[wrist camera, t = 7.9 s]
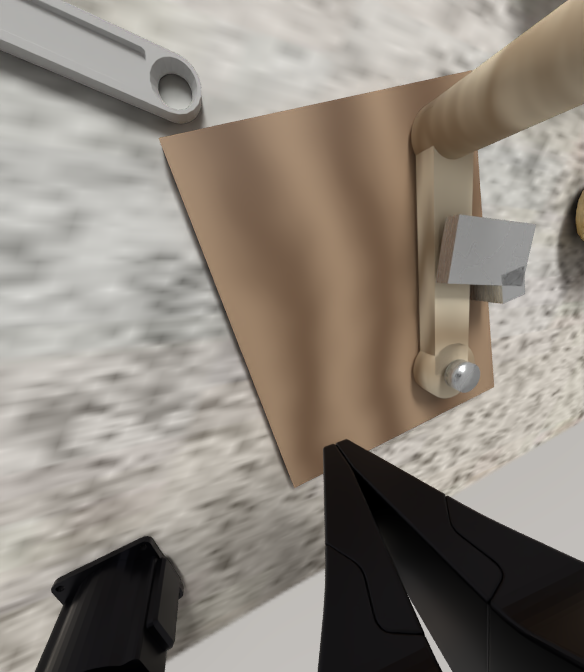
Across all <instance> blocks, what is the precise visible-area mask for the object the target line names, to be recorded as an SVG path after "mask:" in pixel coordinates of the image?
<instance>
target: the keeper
mask: <svg viewBox="0 0 584 672" xmlns="http://www.w3.org/2000/svg"><path fill="white" fill-rule="evenodd" d="M535 227H536V224H529V223H522V222H514V221H506V220H499V219H491V218H483V217H476V216H468V215H460V214H459V215H454V216H450V217H446V219H445V225H444V232H443V238H442V244H441V251H440V257H439V263H438V270H437V276H436V282H435V283H447V284H470V298H469V300H476V301H485V302H493V303H501V304H503V303H506V302H508V301H510V300H513V299H515V298H517V297H520V296H522V295H524V294H525V270H526V266H527V262H528V257H529V253H530V248H531V244H532V240H533V235H534V231H535ZM479 379H480V369H479V367H478V366H477V365H476V364H473V363H471V362H468V361H465V360H462V359H457V360H454V361H452V362H451V363H450V364H449V365H448V367H447V368H446V370H445V374H444V380H445V383H446V384H447V385H448V386H449V387H451V388H453V389H456V390H458V391H460V392H462V393H466V392H469V391H471V390H472V389H473V388H474V387H475V386H476V385H477V383H478V381H479Z"/></svg>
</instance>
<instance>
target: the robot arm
mask: <svg viewBox="0 0 584 672" xmlns="http://www.w3.org/2000/svg"><path fill="white" fill-rule="evenodd" d="M323 475H324V518H325V595H324V596H325V597H324V612H323V622H322V632H321V643H320V653H319V663H318V672H442V670H441V668H440V666H439V664H438V662H437V660H436V658H435V656H434V654H433V652H432V650H431V648H430V645H429V643H428V641H427V639H426V637H425V634H424V631H423V629H422V627H421V624H420V622H419V620H418V618H417V615H416V613H415V611H414V608H413V606H412V604H411V602H410V600H411V601H412V603H413V605H414V606H415V608H416V610H417V612H418V613H419V615H420V617H421V618H422V620H423V622H424V623H425V625H426V627H427V629H428V630H429V632H430V634H431V636H432V637H433V639H434V641H435V642H436V644H437V646H438V648H439V649H440V651H441V653H442V655H443V656H444V658H445V660H446V661H447V663H448V665H449V667H450V668H451V670H452V672H584V562H582V561H580V560H577V559H576V558H573V557H571V556H569V555H567V554H565V553H562V552H560V551H558V550H556V549H554V548H552V547H549V546H547V545H545V544H543V543H541V542H539V541H537V540H535V539H532V538H530V537H528V536H525V535H524V534H522V533H519V532H517V531H515V530H513V529H511V528H509V527H507V526H505V525H503V524H500V523H498V522H496V521H494V520H492V519H490V518H488V517H486V516H484V515H482V514H480V513H478V512H476V511H475V510H473V509H471V508H469V507H467V506H465V505H463V504H462V503H460V502H458V501H456V500H455V499H453V498H451V497H449V496H445V494H444V493H442V492H440V491H438V490H437V489H435V488H433V487H431V486H430V485H428V484H426V483H424V482H422V481H421V480H419V479H417V478H415V477H414V476H412V475H410V474H408V473H407V472H405V471H403V470H401V469H400V468H398V467H396V466H394V465H392V464H391V463H389V462H387V461H385V460H384V459H382V458H380V457H378V456H377V455H375V454H373V453H371V452H369V451H368V450H366V449H364V448H362V447H361V446H359V445H357V444H355V443H354V442H352V441H350V440H348V439H344V440H342V441H339V442H336V444H330V445H328V446H325V447H323ZM144 544H145V545H144ZM183 590H184V587H183V585H182V584H181V582H180V577H179V576H178V574H177V573H176V571H175V570H174V568H173V567H172V565H171V564H170V562H169V560H168V559H167V558H166V557H164V556H163V555H162V553H161V552H160V550H159V549H158V547H157V546H156V544H155V543H154V541H153V539H152V538H151V537H148V536H146V537H142V538H140V539H138V540H136V541H134V542H132V543H129V544H127V545H125V546H123V547H121V548H119V549H117V550H115V551H113V552H111V553H109V554H107V555H105V556H103V557H101V558H99V559H97V560H95V561H93V562H91V563H88V564H86V565H84V566H82V567H80V568H78V569H76V570H74V571H72V572H70V573H68V574H66V575H64V576H62V577H60V578H58V579H57V580H56V581H55V582H54V584H53V586H52V588H51V592H52V593H53V594H54V596H55V597H56V598H57V599H58V600H59V601H60V602H61V603H62V604H63V607H62V610H61V612H60V614H59V617H58V619H57V621H56V624H55V626H54V628H53V631H52V633H51V635H50V638H49V640H48V642H47V645H46V647H45V649H44V652H43V654H42V656H41V659H40V661H39V663H38V666H37V668H36V670H35V672H165V663H166V654H167V650H169V649H171V648H172V647H173V644H174V642H175V632H176V621H177V610H178V599H180V598H181V597H182V596H183ZM407 594H408V595H407ZM408 596H409V597H408ZM409 598H410V599H409Z"/></svg>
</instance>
